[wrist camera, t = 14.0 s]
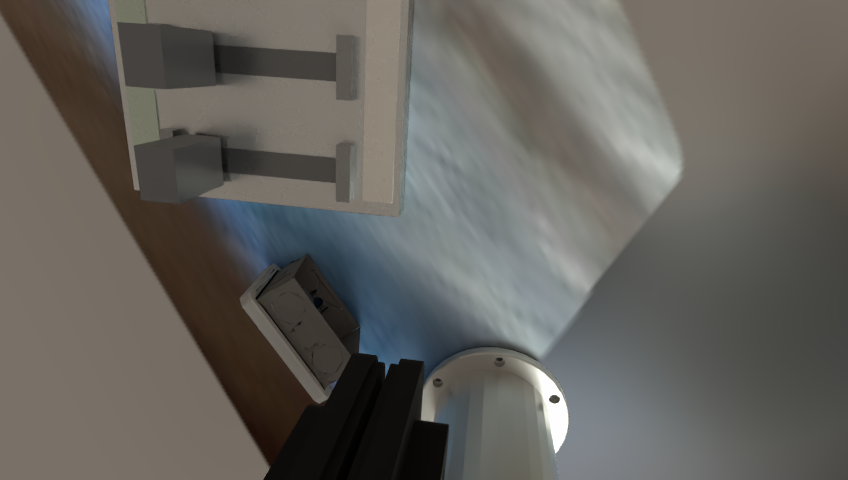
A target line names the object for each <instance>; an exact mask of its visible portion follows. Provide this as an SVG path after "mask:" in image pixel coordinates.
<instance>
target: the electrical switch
mask: <svg viewBox="0 0 848 480" xmlns="http://www.w3.org/2000/svg"><path fill="white" fill-rule="evenodd" d="M298 271H300V272H298ZM313 271H314V272H313ZM319 281H320V284H319ZM317 288H318V289H317ZM316 289H317V291H315V292H314V293H312V294H309V293H310V292H312V291H314V290H316ZM316 297H320V298H322V301H323V304H322V305H321V306H320V307H319V308H318V309H317V308H316V307H315V305H314V304H313V302H314V298H316ZM239 299H240V302H241V305H242V307H243V309H244V310H245V311H246V313H247V314H248V315H249V317H250V318H251V319H252V320H253V322H254V323H255V324H256V326H257V327H258V328H259V330H260V331H261V332H262V333H263V335H264V336H265V337H266V339H267V340H268V341H269V343H270V344H271V345H272V346H273V348H274V349H275V350H276V352H277V353H278V354H279V356H280V357H281V358H282V359H283V361H284V362H285V363H286V365H287V366H288V367H289V369H290V370H291V371H292V373H293V374H294V375H295V376H296V378H297V379H298V380H299V382H300V383H301V384H302V386H303V387H304V388H305V389H306V391H307V392H308V393H309V395H310V396H311V397H312V399H313V400H314V401H315V402H317V403H319V404H320V403H321V402H323V401H325V400H327V399H328V398H329V396H330V394H331V389H330V384H331V383H333V382H335V381H337V380H338V379H339V377H340V376H341V374H342V372H343V370H344V368H345V366H346V364H347V363H348V361H349V359H350V357H351V355H352V354H353V353H359V341H360V327H359V325H358V323H357V322H356V321H355V319H354V318H353V316H352V315H351V314H350V312H349V311H348V309H347V308H346V307H345V305H344V304H343V302H342V301H341V300H340V298H339V297H338V295H337V294H336V293H335V291H334V290H333V288H332V287H331V286H330V284H329V283H328V281H327V280H326V279H325V277H324V276H323V274H322V273H321V272H320V270H319V269H318V267H317V266H316V265H315V263H314V262H313V260H312V259H311V258H310V256H309V255H308V254H306V255H305V256H303V257H302V258H300V259H299V260H297V261H292V262H291V263H290V264H289V265H287V266H286V267H284V268H283V269H280V267H279V266H278V265H276V264H275V263H273V264H271V265H270V266H269V267H267V268H266V269H265V270H264V271H263V272H262V273H261V274H260V276H259V277H258V278H257V279H256V280H255V281H254V282H253V283H252V285H251V286H250V287H249V288H248V289H247V290H246V291H245V293H244V294H243V295H242V296H241V297H240V298H239ZM328 306H331V307H328ZM326 307H328V308H327V309H326V310H325V311H324V312H322V311H323V310H324V309H325V308H326ZM341 308H342V309H341ZM321 312H322V313H321ZM343 324H344V325H343ZM358 327H359V328H358ZM356 328H358V329H356ZM355 329H356V330H355ZM353 330H354V331H353ZM352 331H353V332H352Z"/></svg>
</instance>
